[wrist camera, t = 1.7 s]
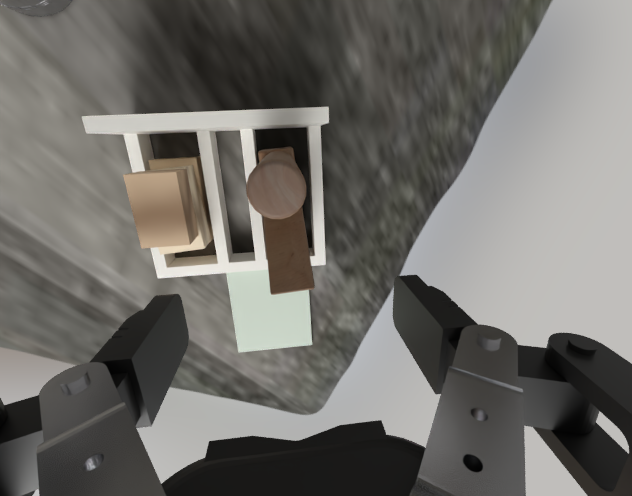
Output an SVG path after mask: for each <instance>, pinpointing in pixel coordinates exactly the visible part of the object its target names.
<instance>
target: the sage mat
mask: <svg viewBox="0 0 632 496" xmlns="http://www.w3.org/2000/svg"><path fill="white" fill-rule="evenodd" d="M226 274H227V281H228V287H229V294H230V300H231V307H232V313H233V319H234V326H235V332H236V339H237V345H238V352H247V351H257V350H267V349H277V348H286V347H296V346H306V345H312V334H311V317H310V300H309V290H304V291H297V292H290V293H283V294H276V295H271V293H270V283H269V272H268V270H255V271H243V272H231V273H226Z"/></svg>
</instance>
